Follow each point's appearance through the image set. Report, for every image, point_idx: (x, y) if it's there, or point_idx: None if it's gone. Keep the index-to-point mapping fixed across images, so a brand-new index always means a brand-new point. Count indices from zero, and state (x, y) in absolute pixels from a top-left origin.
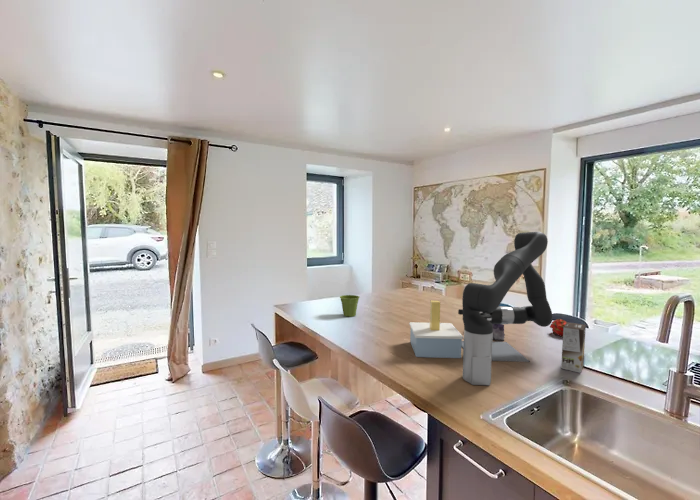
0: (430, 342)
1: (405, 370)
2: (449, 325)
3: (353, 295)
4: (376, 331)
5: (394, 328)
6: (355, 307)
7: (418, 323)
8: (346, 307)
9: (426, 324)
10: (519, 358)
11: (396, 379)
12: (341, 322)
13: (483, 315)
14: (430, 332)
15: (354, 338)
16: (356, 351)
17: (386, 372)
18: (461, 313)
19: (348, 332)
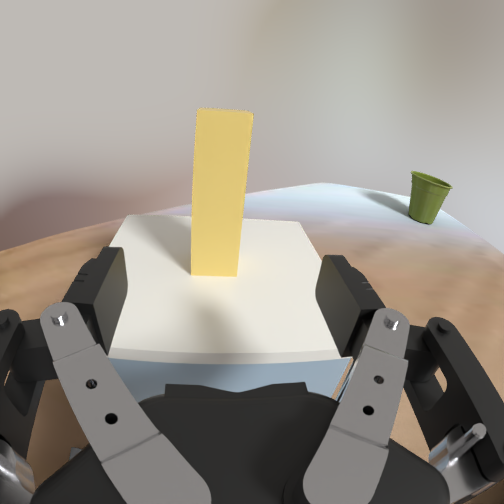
0: None
1: (62, 256)
2: (306, 330)
3: (449, 185)
4: (343, 239)
5: (394, 268)
6: (426, 203)
7: (292, 236)
8: (411, 194)
9: (286, 252)
10: None
11: (35, 242)
12: (368, 207)
13: (71, 459)
14: (156, 245)
15: (271, 212)
16: (187, 210)
17: (68, 234)
18: (324, 303)
19: (308, 209)
